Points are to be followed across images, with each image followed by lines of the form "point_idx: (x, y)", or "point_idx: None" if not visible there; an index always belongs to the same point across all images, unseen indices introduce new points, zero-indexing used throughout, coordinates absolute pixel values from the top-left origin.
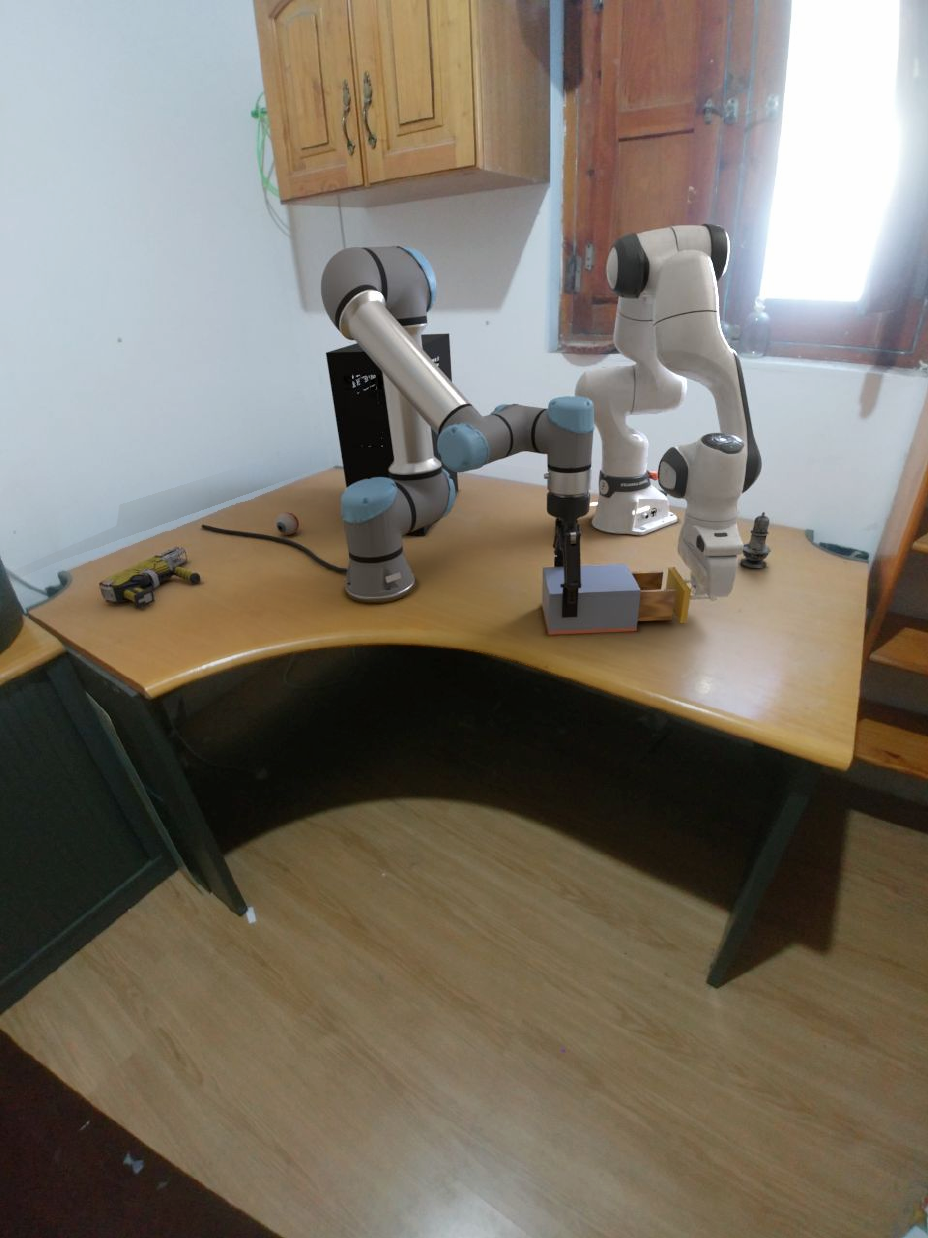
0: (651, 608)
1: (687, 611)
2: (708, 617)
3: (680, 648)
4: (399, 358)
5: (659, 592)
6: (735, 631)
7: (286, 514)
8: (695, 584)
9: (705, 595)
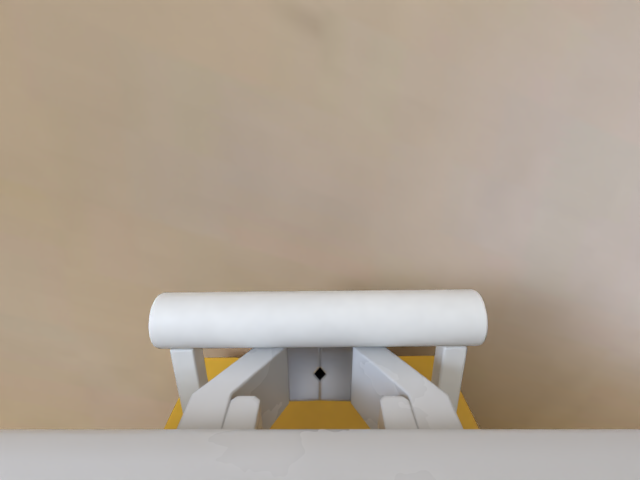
0: None
1: (466, 404)
2: (365, 223)
3: (579, 393)
4: None
5: None
6: (523, 139)
7: None
8: (284, 392)
9: (454, 371)
